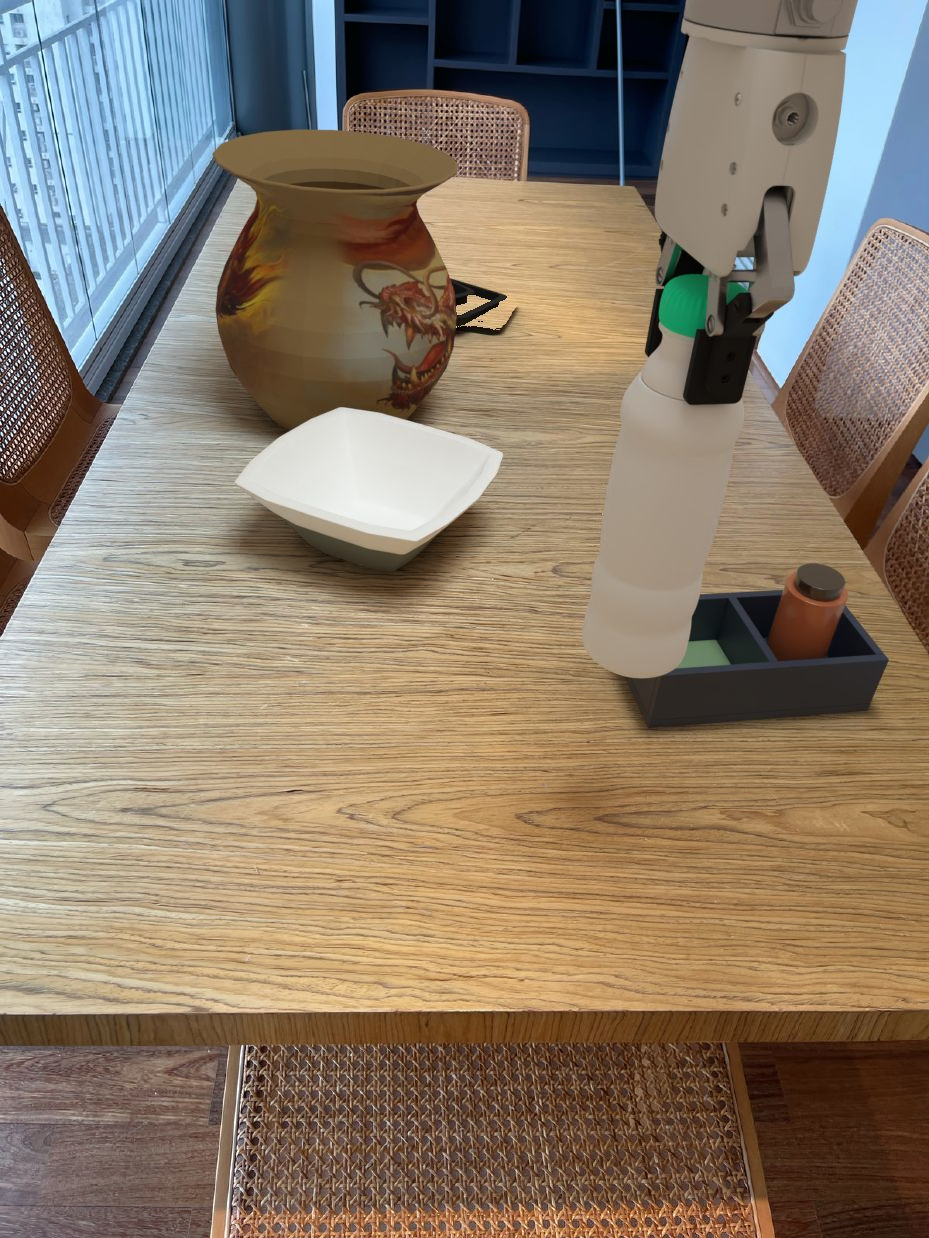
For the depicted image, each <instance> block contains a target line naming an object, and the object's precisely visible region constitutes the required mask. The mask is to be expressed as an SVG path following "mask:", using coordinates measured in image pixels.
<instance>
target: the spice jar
mask: <svg viewBox="0 0 929 1238" xmlns="http://www.w3.org/2000/svg"><path fill="white" fill-rule="evenodd" d="M845 585H846V578H845V577H844V576H843V574H842V573H840V571H838V570H837V569H835V568H833V567H831V566H829V565H826V564H821V563H816V562H814V563H811V562H809V563H805V564H801V565H800V566H798V567H797V570H796V572H793V573H791V574H790V575H788V576H787V578H786V580H785V583H784V586H783V589H782V590H783V592H782V595H781V598H780V601H779V604H778V607H777V611H776V614H775V617H774V620H773V623H772V626H771V629H770V632H769V635H768V638H767V641H766V643H767V645H768V646H769V648H770V649H771V651H772V652H773V654H774V655H775V657H776V658H777V660H778V661H791V660H806V659H820V658H826V655H827V652H828V650H829V647H830V644H831V642H832V639H833V636H834V634H835V631H836V628H837V626H838V623H839V620H840V618H841V615H842V612H843V610H844V607H845V605H847V602H848V599H849V592H848V590H847V588H846V586H845Z"/></svg>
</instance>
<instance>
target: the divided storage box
mask: <svg viewBox="0 0 929 1238" xmlns="http://www.w3.org/2000/svg"><path fill="white" fill-rule="evenodd" d="M782 592H783V589H771V590H769V589H768V590H754V591H735V592H734V591H733V592H717V593H700V597H699V600H698V603H697V606H696V609H695V611H694V613H693V615H692V620H691V630H690V636H689V641H688V645H687V649H686V653H685V656H684V658H683V660H682V662H681V663H680V664H679V665H678V666H677V667H676V668H675V669H674V670H672V671H671V672H669V673H666V674H664V675H661V676H658V677H652V678H631V677H626V676H623V677H624V679H625V680H626V684H627V685H628V687H629V690H630V691H631V694H632V696H633V698H634V700H635V703H636V704H637V706H638V709H639V710H640V713H641V715H642V718H643V719H644V721H645V724H646V726H647V728H648V729H657V728H658V729H660V728H671V727H685V726H697V725H707V724H708V725H709V724H721V723H733V722H747V721H758V720H770V719H772V720H773V719H784V718H797V717H809V716H810V717H811V716H822V715H834V714H835V715H836V714H846V713H847V714H848V713H859V712H868V711H869V708H870V706H871V703H872V701H873V700H874V699H873V698H874V696H875V694H876V691H877V689H878V687H879V685H880V683H881V680H882V677H883V675H884V673H885V670H886V668H887V666H888V663H889V661H890V659H889V658H888V656H887V655H886V654H885V653H884V652H883V650H882V649H881V648H880V646H879V645H878V644H877V643H876V642H875V640H874V639H873V637H872V636H871V635H870V634H869V632H867V630H866V629H865V628H864V626H863V625H862V624H861V622H859V620H858V619H857V618H856V616H855V615H854V614H853V613H852V611H851V610H850V609H849V607H848V606H847V604H845V607H844V610H843V612H842V615H841V618H840V620H839V623H838V626H837V628H836V631H835V634H834V636H833V639H832V642H831V644H830V647H829V650H828V652H827V655H826V658H820V659H806V660H791V661H778V660H777V658H776V657H775V655H774V654H773V652H772V651H771V649H770V648H769V646H768V645H767V643H766V641H767V638H768V635H769V632H770V629H771V626H772V623H773V620H774V617H775V614H776V611H777V607H778V604H779V601H780V598H781V595H782Z"/></svg>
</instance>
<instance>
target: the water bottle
mask: <svg viewBox="0 0 929 1238" xmlns="http://www.w3.org/2000/svg"><path fill="white" fill-rule="evenodd" d="M708 283H709V275H704V274H701V275H700V274H690V275H688V274H687V275H682V276H679V277H675V278H673V279H671V280H670V281H669V282H668V283H667V284H666V286H665V288H664V287H663V289H664V291H663V293H662V297H661V301H660V307H659V320H660V322H659V329H660V330H661V332H662V334H663V337H662V342H661V344H660V345H659V347H658V348H657V349H656V350H655V351H654V352H653V353H652V354H651V355H650V356H649V358H648V357H647V359H646V360H645V362H644V364H643V367H642V369H641V370H640V371H639V372H638V374H637V375H636V376H635V377H634V379H633V380H632V382H630V384H629V385H628V387H627V389H626V390H625V392H624V395H623V397H622V400H621V402H620V403H621V404H620V411H619V417H620V424H621V426H620V429H619V432H618V435H617V439H616V442H615V447H614V451H613V455H612V460H611V465H610V470H609V475H608V480H607V486H606V493H605V497H604V503H603V511H602V518H601V525H600V538H599V551H598V553H597V556H596V558H595V560H594V564H593V568H592V573H591V579H590V597H589V598H590V599H589V600H588V603H587V606H586V609H585V614H584V618H583V623H582V629H581V641H582V642H581V643H582V646H583V648H584V650H585V652H586V653H587V654H588V656H589V657H590V658H591V659H592V660H593V661H594V662H595V663H596V664H597V665H599V666H600V667H601V668H603V669H605V670H607V671H609V672H610V673H614V674H615V675H618V676H622V677H624V676H626V677H631V678H652V677H658V676H661V675H664V674H666V673H669V672H671V671H672V670H674V669H675V668H676V667H677V666H678V665H679V664H680V663H681V662H682V660H683V658H684V656H685V653H686V649H687V645H688V641H689V636H690V630H691V620H692V615H693V613H694V611H695V609H696V606H697V603H698V600H699V597H700V594H701V592H702V587H703V574H704V573H703V571H704V569H705V566H706V563H707V561H708V558H709V555H710V552H711V550H712V546H713V542H714V539H715V536H716V532H717V529H718V526H719V520H720V518H721V514H722V510H723V505H724V502H725V497H726V493H727V489H728V485H729V481H730V475H731V469H732V464H733V459H734V450H735V444H736V443H737V441H738V440H739V438H740V437H741V434H742V431H743V428H744V424H745V405H744V401H743V397H742V398H741V400H740V401H739V402H738V403H735V404H712V405H689V404H688V403H687V402H686V401H685V400H684V398H683V392H684V387H685V382H686V378H687V373H688V368H689V363H690V359H691V354H692V349H693V344H694V339H695V335H696V330H697V329H705V321H706V308H707V295H708ZM747 291H748V289H746V288H745V287H744V286H743V285H742V284H740V283H728V295H727V304H728V303H729V302H730V301H731V300H732V299H733V298H734V297H735V296H736V295H737V294H738V293H746V292H747Z"/></svg>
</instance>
